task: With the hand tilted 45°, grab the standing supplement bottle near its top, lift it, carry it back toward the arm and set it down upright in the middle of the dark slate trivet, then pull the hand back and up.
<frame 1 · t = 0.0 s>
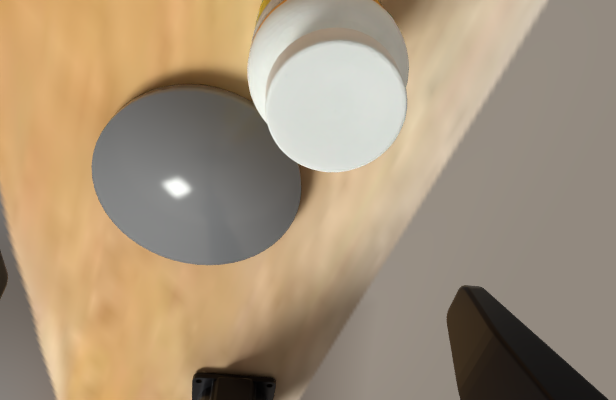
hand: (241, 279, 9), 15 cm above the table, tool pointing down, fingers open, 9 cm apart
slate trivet: (202, 179, 25), on the table
supplement bottle: (317, 25, 20), on the table
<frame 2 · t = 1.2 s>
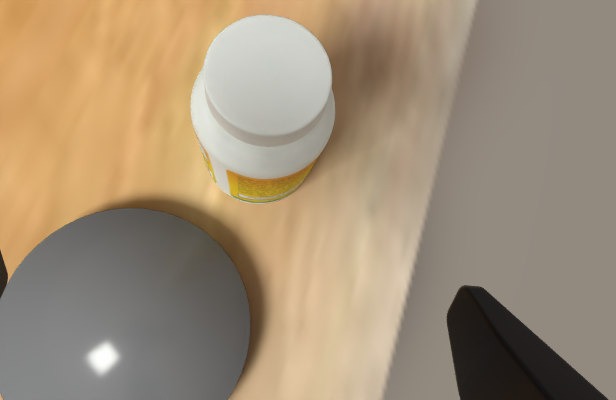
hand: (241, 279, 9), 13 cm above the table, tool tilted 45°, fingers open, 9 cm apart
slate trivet: (131, 327, 21), on the table
supplement bottle: (259, 156, 23), on the table
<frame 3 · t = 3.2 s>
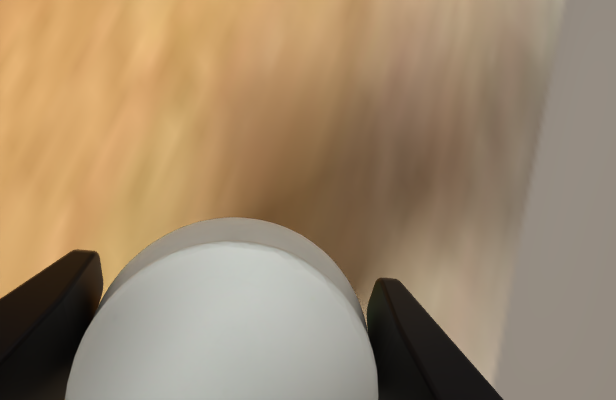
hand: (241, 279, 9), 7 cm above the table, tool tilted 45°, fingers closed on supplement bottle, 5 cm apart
supplement bottle: (238, 320, 15), on the table, touching gripper
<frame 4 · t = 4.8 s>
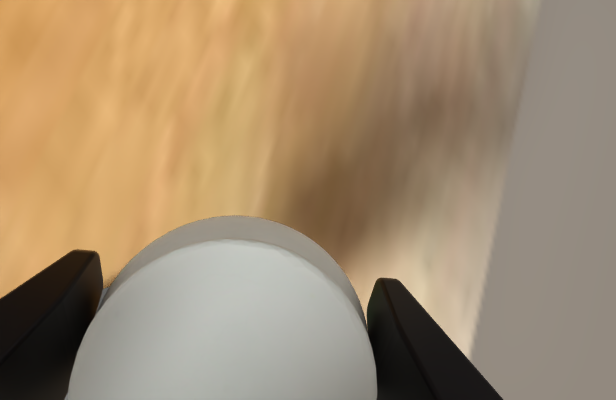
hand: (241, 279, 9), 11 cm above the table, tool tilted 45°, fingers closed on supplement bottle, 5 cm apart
supplement bottle: (240, 318, 15), point 4 cm above the table, touching gripper
when the fingers open (8 cm above the table, at t = 6.3 s): supplement bottle stays where it is, resting on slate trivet.
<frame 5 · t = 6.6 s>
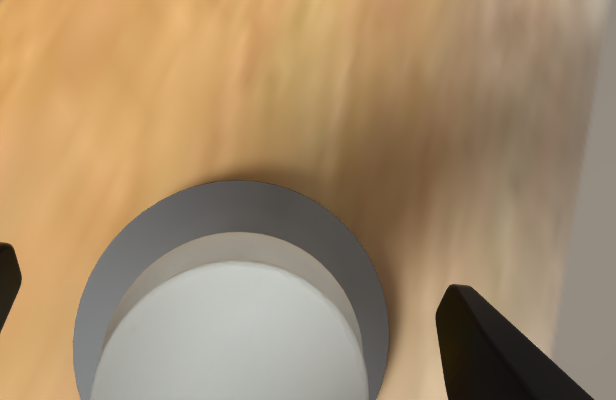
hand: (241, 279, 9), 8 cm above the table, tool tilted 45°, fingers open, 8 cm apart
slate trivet: (239, 329, 17), on the table
supplement bottle: (240, 323, 16), point 1 cm above the table, touching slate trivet
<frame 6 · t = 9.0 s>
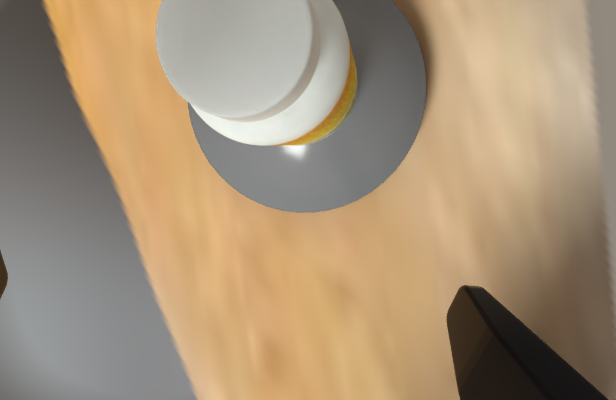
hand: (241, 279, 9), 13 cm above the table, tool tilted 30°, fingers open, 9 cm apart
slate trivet: (305, 95, 21), on the table
supplement bottle: (300, 87, 20), point 1 cm above the table, touching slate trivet
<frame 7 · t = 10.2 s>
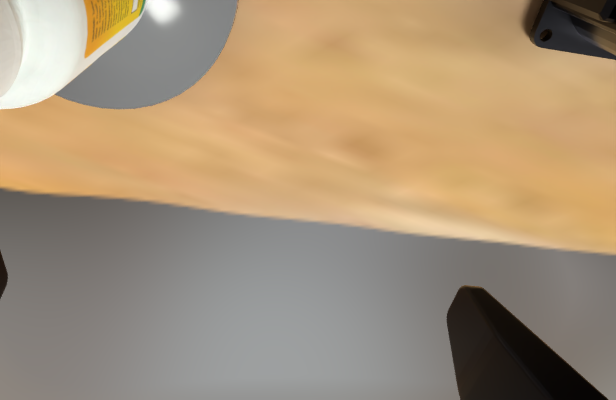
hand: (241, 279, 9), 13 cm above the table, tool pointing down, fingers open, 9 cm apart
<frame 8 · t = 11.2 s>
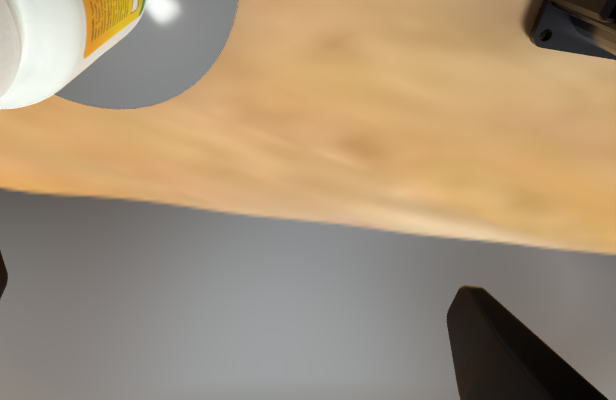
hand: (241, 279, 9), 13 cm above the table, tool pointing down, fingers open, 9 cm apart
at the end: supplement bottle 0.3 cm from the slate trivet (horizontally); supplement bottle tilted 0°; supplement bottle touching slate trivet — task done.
